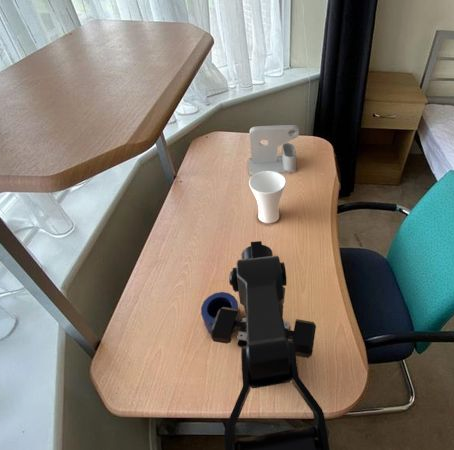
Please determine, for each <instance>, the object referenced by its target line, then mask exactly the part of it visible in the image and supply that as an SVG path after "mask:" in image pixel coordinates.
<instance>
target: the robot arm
mask: <svg viewBox="0 0 454 450" xmlns="http://www.w3.org/2000/svg"><path fill="white" fill-rule="evenodd" d="M262 242H263V241H262V240H257V241H250V245H249V246H248V247H246V248H245V249H243V251H242V252H241V253H240V256H241V259H237V261H236V266H235V267H232V270H231V271H230V273H229V275H228V280H229V281H228V282H229V285H230V286H231V287H232V291H234V292H235V293H237V292H238V297H239V304H240V305H242V306H244V313H245V317H243V318H242V319H241V321H240V322H239V321H237V318H238V316H239V315H240V316H241V313H242V312H241V309H234V308H228V307H222V308H221V309H220V310H218V313H217V315H216V318H215V320H214V323H213V325H212V328H211V332H210V334H209V335H210V338H211V340H212V341H213V342H215V343H220V344H221V343H222V344H227V345H228V344H230V343H232V335H233V334H234V333H233V330H236V331H238V332H237V333H238V334H237V336H236V339H237V342H236V343H237V344H236V345H237V347H239V348H240V355H241V356H240V357H241V359H240V361H241V375H242V387H241V390H240V392H239V394H238V397H237V399H236V402H235V403H234V406H233V409H232V411H231V413H230V415H229V418H228V420H227V421H226V425H225V427H224V450H331V449H330V443H329V436H328V431H327V424H326V418H325V414H324V413H325V412H324V410H323V408H322V406H321V405H320V404H319V402H317V400H316V399H315V397H314V396H313V394H312V393H311V392H310V390H309V389H308V387H307V386H306V385H305V384H304V382H303V380H302V379H301V378H300V376H299V369H298V359H297V357H299V358H305V359H310V358H311V357H312V356H313V350H314V345H315V344H314V343H315V337H316V330H317V325H316V323H315V322H314V321H310V320H305V319H300V318H299V319H298V318H296V319H295V322H294V328H293V330H292V329H291V322H290V321H285V320H284V308H285V307H284V303H285V295H286V288H285V287H286V286H287V284H288V283H287V281H288V280H287V271H286V264H285V262H284V261H282V262H281V260H280V257H279V256H278V255H273V250H272V248H270V247H269V246H267V245H266V244H263V243H262ZM232 333H233V334H232ZM288 339H289V340H288ZM288 383H292V385H293V387H294V388H295V389H296V391H297V392H298V393H299V395H300V396H301V398H302V399H303V401H304V402H305V404H306V405H307V407H308V408H309V409H310V411H311V412H312V415H313V422H314V425H313V424H311V425H306V426H305V425H304V426H301V427H295V428H291V429H290V428H289V429H285V430H279V431H274V432H269V433H263V434H257V435H253V436H247V437H241V438H238V439H236V429H235V428H236V425H237V423H238V421H239V418H240V415H241V414H242V410H243V408H244V406H245V403H246V401H247V398H248V396H249V395H250V391H251V389H252V390H254V389H259V388H265V387H270V386H277V385H282V384H288Z"/></svg>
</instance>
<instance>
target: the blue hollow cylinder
mask: <svg viewBox="0 0 454 450" xmlns="http://www.w3.org/2000/svg"><path fill="white" fill-rule="evenodd" d="M202 302H203V303H202V304H201V307H200V315H201V318H202V320H203V324H204V326H205V329H206V331H207V333H208V334H209V335H210V332H211V328H212V325H213V323H214V320H215V318H216V315H217V313H218V310H220V309H221V308H222V307H228V308H234V309H239V304H238V300H237V299H236V297H235V296H234V295H233V294H231V293H229V292H226V291H225V292H224V291H221V292H220V291H219V292H214V293H213V294H210V295H209V296H207V298H206V299H204V301H202ZM237 321H239V322H241V314H240V315H239V316H238V318H237ZM236 332H237V330H233V333H232V335H234V334H235V333H236Z"/></svg>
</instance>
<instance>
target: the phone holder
mask: <svg viewBox="0 0 454 450" xmlns="http://www.w3.org/2000/svg"><path fill="white" fill-rule="evenodd" d="M291 131H294V132H291ZM299 135H300V129H299V126H297V125H295V124H284V125H283V124H282V125H281V124H280V125H259V126H251V128H250V129H249V142H250V155H251V156H250V157H249V158H248V169H249V171H248V172H249V173H250V175H252V176H253V175H254V174H256V173H258V172H262V171H274V172H277V173H280V174H287V173H288V174H289V173H295V172H297V151H296V148H295V145H294V144H293V143H290V142H292V141H293V140H295V139H297V138H298V137H299ZM262 141H266V142H267V143H266V144H262V143H261V142H262ZM279 147H281V155H278V148H279Z"/></svg>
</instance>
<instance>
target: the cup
mask: <svg viewBox="0 0 454 450" xmlns="http://www.w3.org/2000/svg"><path fill="white" fill-rule="evenodd" d="M248 185H249V187H250V189H251V191H252V193H253V195H254V198H255V200H256V203H257V208H258V214H257V215H258V216H257V217H258V219H259V221H260V222H262V223H264V224H273V223H276V222H277V221H278V220H279V219H280V210H279V209H280V208H279V207H280V201H281V198H282V195H283V193H284V190H285V187H286V185H287V180H286V178H285V176H284V175H283V174H282V173H277V172H274V171H262V172H258V173H256V174H254V175H252V176H251V177H250V178H249V181H248Z"/></svg>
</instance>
